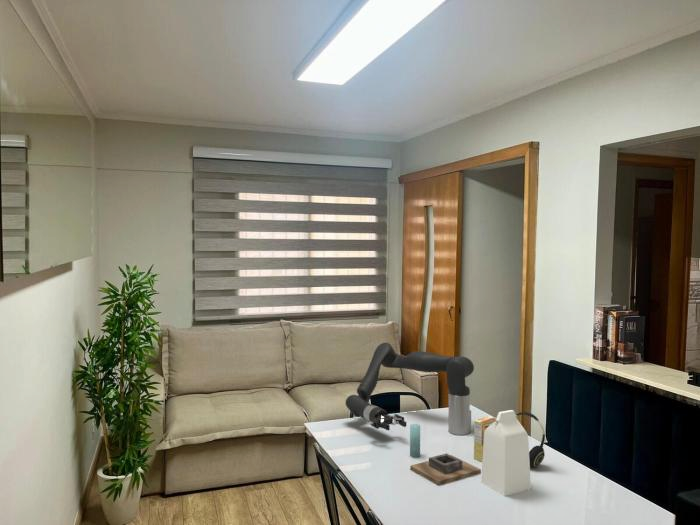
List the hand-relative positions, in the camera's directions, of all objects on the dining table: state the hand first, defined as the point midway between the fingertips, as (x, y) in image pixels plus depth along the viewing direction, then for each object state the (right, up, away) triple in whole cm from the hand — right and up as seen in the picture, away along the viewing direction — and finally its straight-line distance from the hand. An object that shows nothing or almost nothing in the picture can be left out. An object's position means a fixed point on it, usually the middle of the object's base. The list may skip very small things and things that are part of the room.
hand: (397, 426), depth 230 cm
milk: (+35, -10, -37) cm, 51 cm away
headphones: (+48, -9, -18) cm, 52 cm away
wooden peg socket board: (+16, -9, -25) cm, 31 cm away
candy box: (+33, -9, -12) cm, 36 cm away
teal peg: (+6, -9, -9) cm, 14 cm away
